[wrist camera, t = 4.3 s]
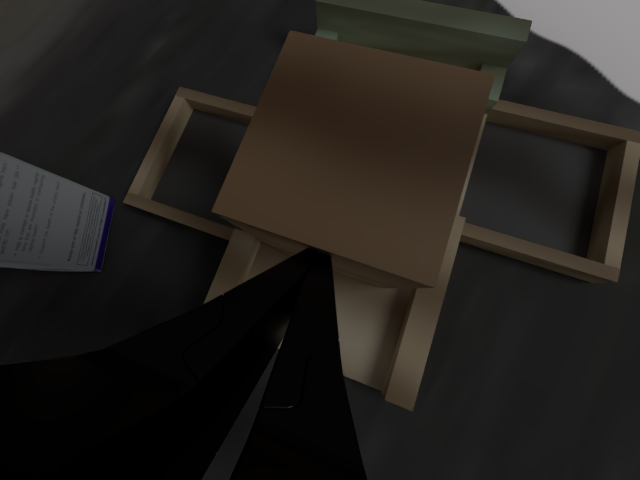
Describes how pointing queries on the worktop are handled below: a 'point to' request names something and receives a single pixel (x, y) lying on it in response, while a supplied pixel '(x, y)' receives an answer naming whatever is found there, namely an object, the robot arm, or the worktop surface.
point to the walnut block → (358, 158)
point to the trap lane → (476, 199)
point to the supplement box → (50, 220)
